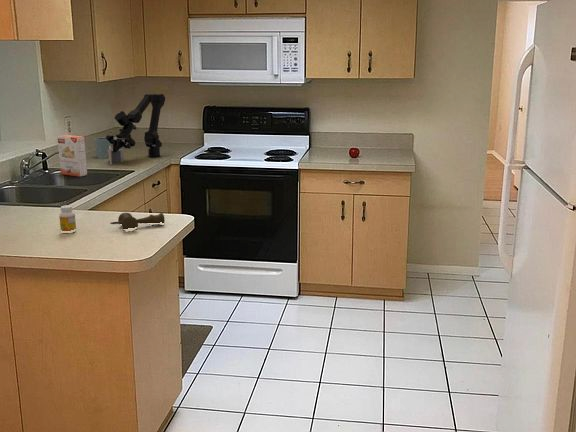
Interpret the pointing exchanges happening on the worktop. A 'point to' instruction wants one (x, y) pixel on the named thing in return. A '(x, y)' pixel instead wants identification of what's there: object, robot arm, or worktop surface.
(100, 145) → the drinking glass
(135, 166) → the worktop surface
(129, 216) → the kendama
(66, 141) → the cracker box
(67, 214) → the supplement bottle
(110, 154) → the pale grey square case
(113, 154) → the camera box
